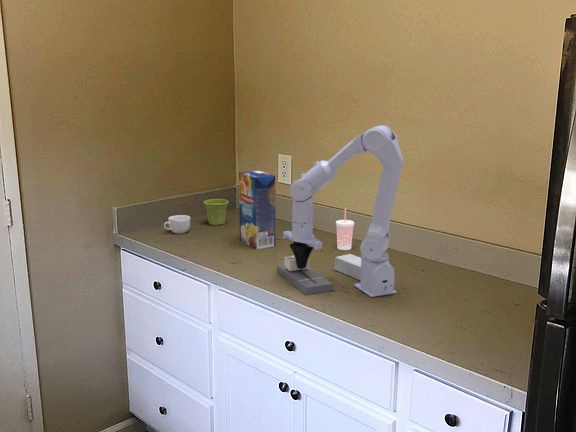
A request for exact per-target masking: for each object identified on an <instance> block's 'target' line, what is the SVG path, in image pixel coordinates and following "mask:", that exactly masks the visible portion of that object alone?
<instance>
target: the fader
mask: <svg viewBox="0 0 576 432" xmlns="http://www.w3.org/2000/svg"><path fill="white" fill-rule="evenodd" d="M283 259H284V264H283V265H284V267H285V268H287V269H288V270H289V271H294V270H301V269H299V268H298V267H297V263H296V259H295V256H294V255H290V256H284V258H283ZM309 268H310V257H309V258H308V261H307V265H306V268H303V269H309Z"/></svg>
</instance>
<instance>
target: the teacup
mask: <svg viewBox="0 0 576 432" xmlns="http://www.w3.org/2000/svg"><path fill="white" fill-rule="evenodd" d="M166 224H168V227H167V225H166ZM190 226H191V216H189V215H184V214H181V215H180V214H179V215H171V216H169V217H168V221H166V222H164V224H163V228H164V229H166V230H169V231H171V232H172V233H174V234H178V235H179V234H180V235H181V234H185V233H187V232H188V231H189V230H190Z"/></svg>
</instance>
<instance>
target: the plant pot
mask: <svg viewBox="0 0 576 432" xmlns="http://www.w3.org/2000/svg"><path fill="white" fill-rule="evenodd" d="M203 204H204V206H205V208H206V209H205V210H206V213H207V219H208V224H209V225H212V226H220V225H224V224H225V223H226V218H227V217H226V215H227V214H226V213H227V207H228V204H229V200H227V199H223V198H216V199H215V198H214V199H212V198H211V199H207V200H204V201H203Z"/></svg>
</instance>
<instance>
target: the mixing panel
mask: <svg viewBox="0 0 576 432" xmlns="http://www.w3.org/2000/svg"><path fill="white" fill-rule="evenodd" d="M276 272H277V273H278V274H279V275H281V276H282V277H283V278H284V279H285V280H287V281H288V282H289V283H291V284H292V285H293V286H294V287H296V289H298V290H299V291H301V293H303V294H304V295H313V294H318V293H326V292H327V293H328V292H333V290H334V287H333V283H332V282H331V281H329V280H328V279H327V278H325V277H324V276H323V275H321V274H320V273H318V272H317V271H315V270H313V269H312V268H311V267H309V269H301V270H294V271H289V270H288V269H287V268H285V267H284V264H278V265H276Z"/></svg>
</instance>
